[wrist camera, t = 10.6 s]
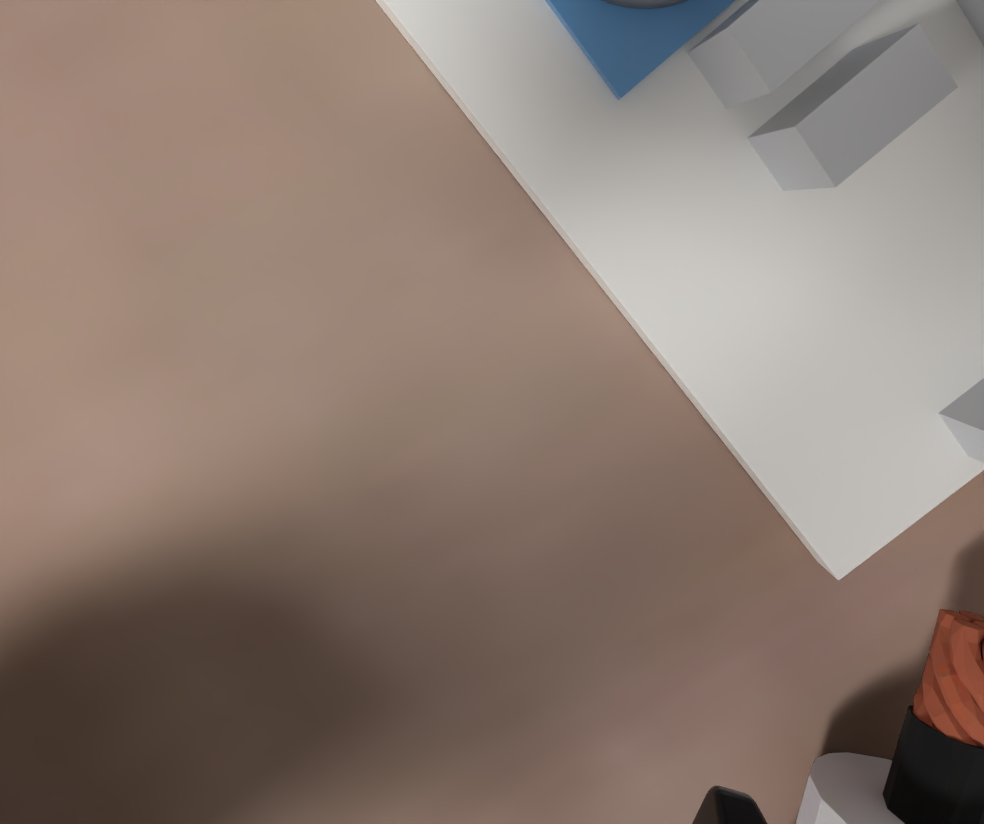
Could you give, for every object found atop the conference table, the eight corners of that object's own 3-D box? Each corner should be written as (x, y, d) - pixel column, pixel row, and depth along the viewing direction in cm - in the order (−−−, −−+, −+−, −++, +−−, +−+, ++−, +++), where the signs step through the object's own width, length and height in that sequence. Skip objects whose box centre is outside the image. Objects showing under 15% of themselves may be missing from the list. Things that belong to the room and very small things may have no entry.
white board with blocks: (1185, 279, 21) (1337, 292, 18) (817, 561, 22) (891, 627, 19) (700, -568, 16) (776, -789, 13) (257, -149, 17) (214, -243, 14)
